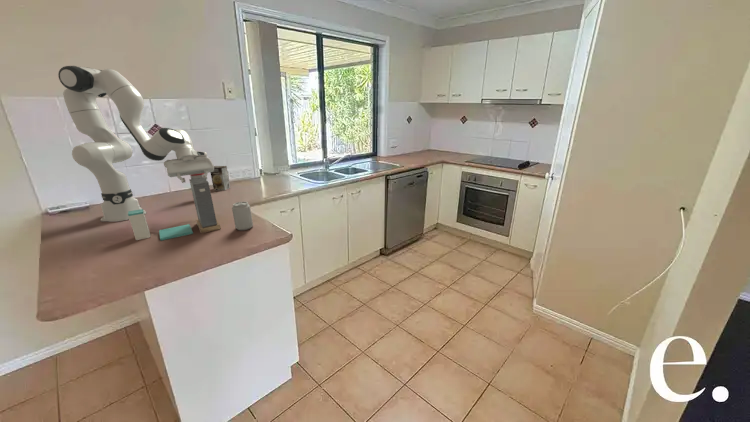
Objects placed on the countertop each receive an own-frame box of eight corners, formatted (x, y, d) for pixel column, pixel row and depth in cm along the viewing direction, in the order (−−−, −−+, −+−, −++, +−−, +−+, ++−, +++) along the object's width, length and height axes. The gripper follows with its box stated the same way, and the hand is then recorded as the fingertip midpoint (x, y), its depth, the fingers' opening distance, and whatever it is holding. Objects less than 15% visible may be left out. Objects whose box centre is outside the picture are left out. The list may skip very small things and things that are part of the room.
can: (236, 232, 134) (231, 206, 130) (235, 226, 140) (230, 202, 136) (254, 229, 137) (250, 203, 133) (252, 224, 143) (248, 199, 139)
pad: (159, 232, 136) (158, 230, 136) (189, 226, 143) (189, 224, 142) (160, 240, 127) (160, 238, 127) (193, 233, 134) (192, 231, 133)
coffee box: (213, 190, 208) (208, 167, 203) (219, 188, 214) (215, 165, 209) (225, 190, 207) (220, 167, 202) (231, 188, 213) (226, 165, 208)
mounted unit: (196, 223, 145) (186, 179, 138) (214, 220, 150) (205, 176, 143) (201, 233, 134) (190, 185, 127) (220, 228, 138) (211, 182, 131)
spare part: (136, 236, 132) (128, 211, 128) (150, 233, 135) (142, 208, 131) (135, 240, 128) (128, 214, 124) (150, 237, 131) (142, 211, 127)
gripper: (162, 156, 143) (169, 180, 139) (209, 152, 155) (217, 173, 150) (163, 164, 147) (170, 187, 143) (209, 159, 159) (217, 180, 155)
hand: (194, 180), depth 147 cm, fingers open, 8 cm apart
